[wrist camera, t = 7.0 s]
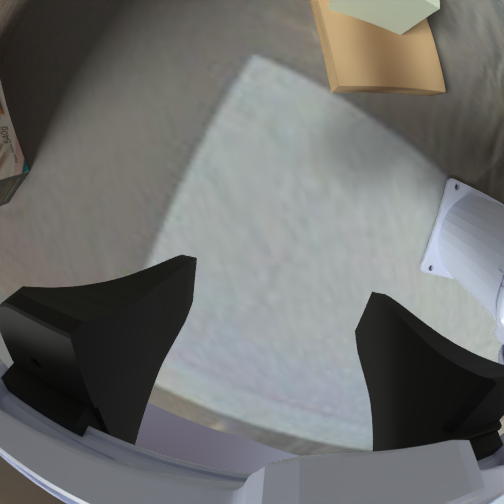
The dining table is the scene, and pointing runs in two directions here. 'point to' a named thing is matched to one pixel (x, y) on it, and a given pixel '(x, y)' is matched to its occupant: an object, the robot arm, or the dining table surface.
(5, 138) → the cake mix box
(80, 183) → the dining table surface
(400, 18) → the sage block
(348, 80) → the tan block
